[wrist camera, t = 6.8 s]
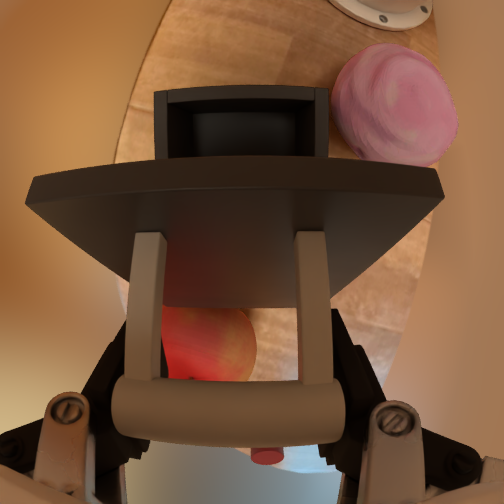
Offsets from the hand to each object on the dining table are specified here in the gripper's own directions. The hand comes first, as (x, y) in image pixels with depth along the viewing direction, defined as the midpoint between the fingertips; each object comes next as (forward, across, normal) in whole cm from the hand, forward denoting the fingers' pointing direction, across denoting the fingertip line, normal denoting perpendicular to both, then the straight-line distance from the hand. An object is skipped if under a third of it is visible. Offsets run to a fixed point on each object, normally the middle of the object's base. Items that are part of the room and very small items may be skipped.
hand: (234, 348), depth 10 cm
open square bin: (+17, 0, -3) cm, 17 cm away
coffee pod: (+17, -3, +31) cm, 35 cm away
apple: (+17, +4, +10) cm, 20 cm away
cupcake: (+17, -10, -9) cm, 22 cm away
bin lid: (+3, 0, -2) cm, 4 cm away
